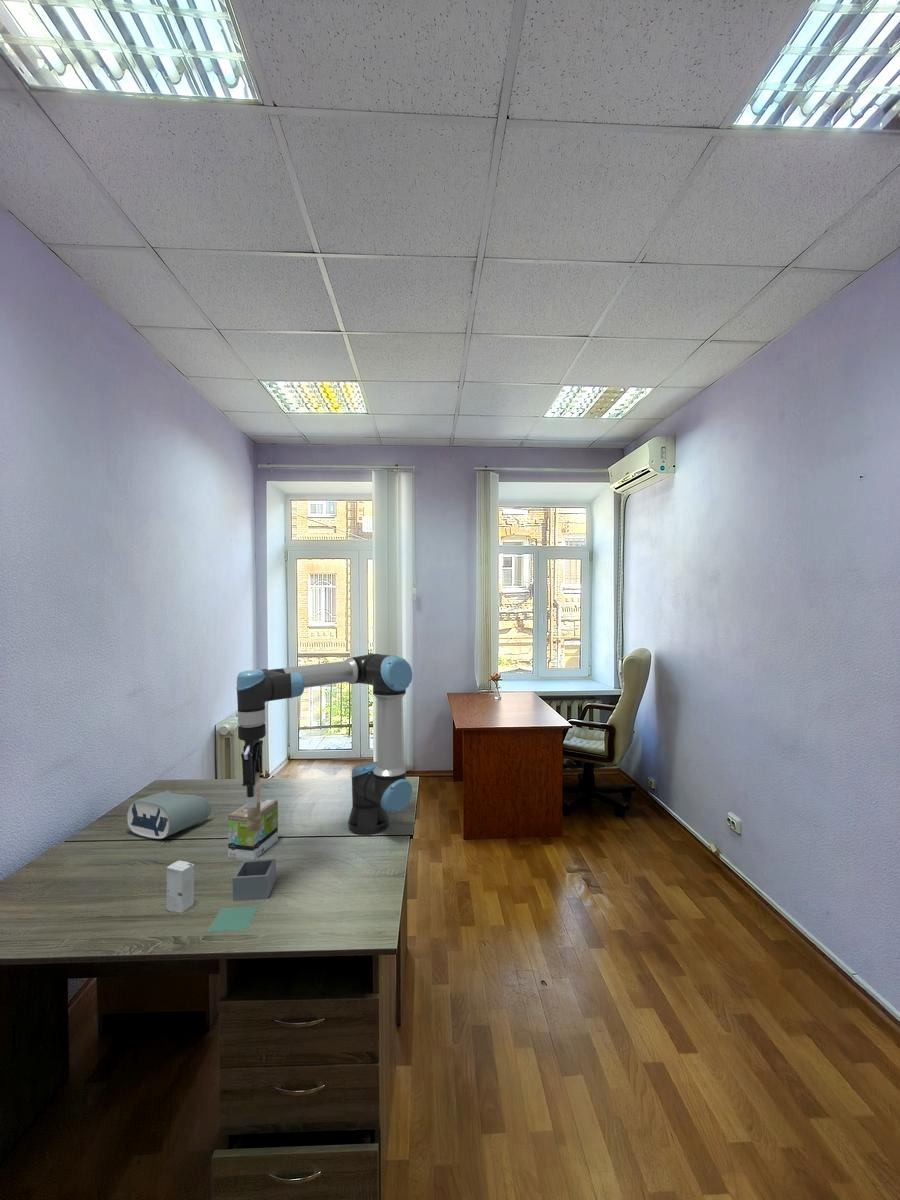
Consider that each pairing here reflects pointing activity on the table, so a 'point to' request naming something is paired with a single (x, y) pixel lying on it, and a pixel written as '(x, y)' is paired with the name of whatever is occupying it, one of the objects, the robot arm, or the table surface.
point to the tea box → (252, 841)
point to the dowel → (255, 809)
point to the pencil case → (166, 814)
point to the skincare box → (180, 886)
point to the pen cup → (254, 880)
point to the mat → (233, 918)
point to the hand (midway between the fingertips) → (253, 804)
